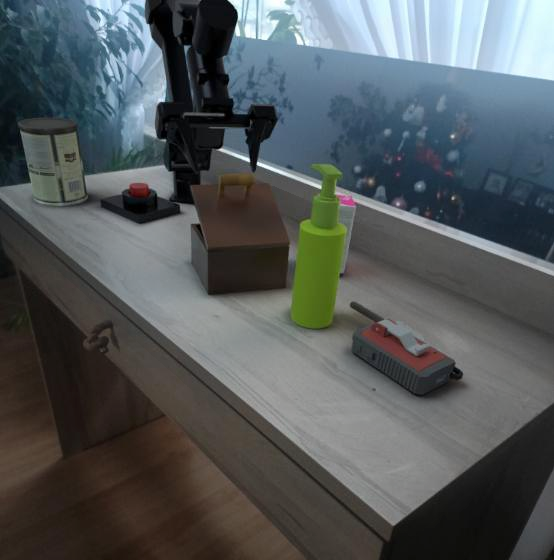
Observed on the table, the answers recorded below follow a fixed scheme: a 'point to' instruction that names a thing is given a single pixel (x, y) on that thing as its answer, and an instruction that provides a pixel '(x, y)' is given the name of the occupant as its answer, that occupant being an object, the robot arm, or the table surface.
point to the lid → (238, 214)
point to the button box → (140, 206)
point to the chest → (238, 266)
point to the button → (139, 189)
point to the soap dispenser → (319, 256)
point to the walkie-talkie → (402, 353)
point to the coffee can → (54, 160)
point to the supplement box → (346, 223)
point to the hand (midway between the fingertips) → (226, 171)
